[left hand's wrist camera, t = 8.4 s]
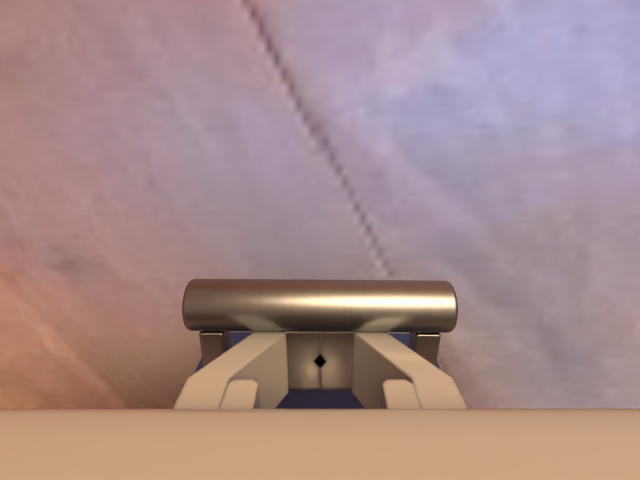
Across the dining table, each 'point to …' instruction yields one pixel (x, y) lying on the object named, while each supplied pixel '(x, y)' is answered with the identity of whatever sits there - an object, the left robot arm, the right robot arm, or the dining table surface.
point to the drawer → (319, 317)
